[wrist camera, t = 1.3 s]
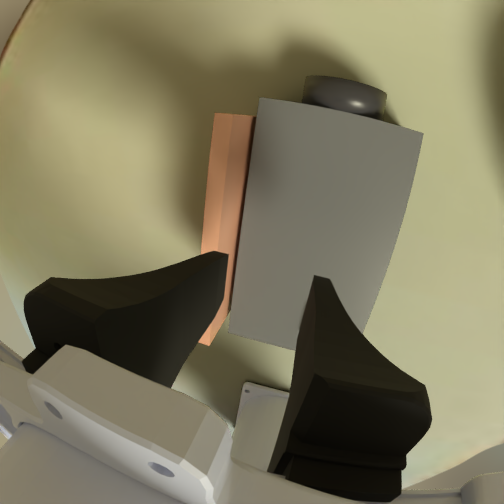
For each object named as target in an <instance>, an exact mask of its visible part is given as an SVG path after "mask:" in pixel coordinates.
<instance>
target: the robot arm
mask: <svg viewBox="0 0 504 504" xmlns="http://www.w3.org/2000/svg"><path fill="white" fill-rule="evenodd" d="M228 258H229V254H226V253H222V252H218V251H210V252H207V253H204V254H201V255H199V256H196V257H193V258H191V259H188V260H185V261H182V262H180V263H177V264H173V265H170V266H167V267H164V268H161V269H158V270H154V271H150V272H146V273H141V274H136V275H131V276H123V277H115V278H105V279H68V278H55V277H51V278H49V279H48V280H46V281H45V282H43V283H42V284H40V285H39V286H37V287H36V288H35V289H33V290H32V291H30V292H29V293H28V294H27V295H26V296H25V299H24V313H25V317H26V321H27V324H28V327H29V330H30V333H31V336H32V339H33V341H34V344H35V347H36V349H35V350H34V351H32V352H31V353H30V354H29V355H28V356H27V357H26V358H25V359H23V358H22V357H21V356H19V355H18V354H17V353H15V352H14V351H13V350H11V349H10V348H9V347H8V346H6V345H5V344H4V343H2V342H1V341H0V432H1V433H3V435H4V436H5V437H6V438H7V439H8V441H7V442H6V443H5V444H4V446H3V447H2V448H1V449H0V504H504V471H503V472H496V473H488V474H482V475H478V476H476V477H474V478H472V479H471V480H469V481H468V482H467V483H465V484H464V485H463V486H462V487H461V488H453V489H435V490H401V489H402V479H401V470H404V469H405V468H406V465H407V464H406V454H407V453H408V452H409V451H410V450H411V449H412V448H413V447H414V446H415V445H416V444H417V443H418V442H419V441H420V440H421V439H422V438H423V436H424V435H425V434H426V432H427V431H428V430H429V428H430V425H431V422H432V415H431V409H430V402H429V397H428V394H427V390H426V387H425V385H424V384H422V383H420V382H419V381H417V380H416V379H414V378H413V377H411V376H409V375H408V374H406V373H405V372H403V371H402V370H400V369H399V368H398V367H397V366H395V365H394V364H393V363H391V362H390V361H389V360H388V359H387V358H385V357H384V356H383V355H382V354H381V353H380V352H379V351H378V350H377V349H376V348H375V347H374V346H373V345H372V344H371V343H370V342H369V341H368V340H367V339H366V338H365V337H364V335H363V334H362V333H361V332H360V330H359V329H358V328H357V327H356V325H355V324H354V323H353V321H352V320H351V318H350V316H349V315H348V313H347V312H346V310H345V308H344V306H343V304H342V303H341V301H340V299H339V297H338V295H337V293H336V290H335V288H334V286H333V284H332V281H331V280H330V279H329V278H325V277H321V276H317V275H314V277H313V281H312V284H311V288H310V292H309V296H308V299H307V303H306V307H305V310H304V314H303V317H302V321H301V325H300V330H299V334H298V338H297V344H296V352H295V359H294V367H293V375H292V382H291V388H290V393H288V392H284V391H280V390H276V389H273V388H269V387H265V386H261V385H258V384H254V383H250V382H245V383H244V385H243V388H242V394H241V399H240V404H239V409H238V414H237V420H236V425H235V429H234V432H233V434H232V437H231V434H230V431H229V427H228V425H227V424H226V422H225V421H224V420H223V419H221V418H220V417H219V416H218V415H217V414H216V413H215V412H214V411H213V410H212V409H211V408H210V407H209V406H207V405H205V404H203V403H201V402H199V401H197V400H195V399H194V398H192V397H190V396H188V395H186V394H184V393H182V392H179V391H176V390H174V389H171V387H172V385H173V383H174V381H175V379H176V377H177V375H178V373H179V371H180V369H181V368H182V366H183V364H184V362H185V361H186V359H187V357H188V356H189V354H190V353H191V351H192V350H193V349H194V347H195V346H196V344H197V343H198V341H199V340H200V339H201V337H202V336H203V334H204V333H205V331H206V330H207V328H208V327H209V326H210V324H211V323H212V321H213V320H214V318H215V316H216V314H217V312H218V310H219V308H220V306H221V304H222V302H223V300H224V294H225V285H226V276H227V267H228Z"/></svg>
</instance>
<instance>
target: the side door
mask: <svg viewBox="0 0 504 504" xmlns="http://www.w3.org/2000/svg"><path fill="white" fill-rule="evenodd" d="M256 118H257V116H250V115H240V114H227V113H215V116H214V124H213V132H212V140H211V149H210V158H209V168H208V177H207V187H206V198H205V209H204V221H203V233H202V246H201V254H204V253H207V252H210V251H218V252H222V253H226V254H229V258H228V267H227V276H226V285H225V294H224V300H223V302H222V304H221V306H220V308H219V310H218V312H217V314H216V316H215V318H214V320H213V321H212V323H211V324H210V326H209V327H208V328H207V330H206V331H205V333H204V334H203V336H202V337H201V339H200V340H199V341H198V342H199V343H202V344H205V345H208V346H210V344H211V342H212V341H213V339H214V337H215V336H216V334H217V332H218V330H219V329H220V327H221V325H222V324H223V322H224V320H225V319H226V317H227V315H228V313H229V312H230V310H231V305H232V297H233V289H234V281H235V273H236V265H237V258H238V250H239V242H240V235H241V227H242V219H243V212H244V205H245V197H246V190H247V182H248V175H249V168H250V161H251V154H252V146H253V139H254V132H255V125H256Z"/></svg>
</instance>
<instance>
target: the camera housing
mask: <svg viewBox="0 0 504 504" xmlns="http://www.w3.org/2000/svg"><path fill="white" fill-rule="evenodd" d="M386 98H387V94H386V93H385V92H383V91H382V90H379V89H377V88H375V87H372V86H369V85H366V84H363V83H359V82H355V81H351V80H347V79H342V78H336V77H329V76H307V77H306V79H305V86H304V92H303V99H302V103H296V102H290V101H284V100H277V99H270V98H262V97H260V98H259V105H258V112H257V118H256V125H255V132H254V139H253V146H252V154H251V161H250V168H249V175H248V182H247V190H246V197H245V205H244V212H243V219H242V227H241V235H240V242H239V250H238V258H237V265H236V273H235V281H234V289H233V297H232V305H231V313H230V321H229V329H228V333H231V334H234V335H238V336H241V337H245V338H249V339H252V340H256V341H260V342H263V343H267V344H271V345H275V346H279V347H282V348H286V349H290V350H295V351H296V344H297V338H298V334H299V330H300V325H301V321H302V317H303V314H304V310H305V307H306V303H307V299H308V296H309V292H310V288H311V284H312V281H313V277H314V275H317V276H321V277H325V278H329V279H330V280H331V281H332V284H333V286H334V288H335V290H336V293H337V295H338V297H339V299H340V301H341V303H342V304H343V306H344V308H345V310H346V312H347V313H348V315H349V316H350V318H351V320H352V321H353V323H354V324H355V325H356V327H357V328H358V329H359V330H360V332H361V333H363V331H364V329H365V326H366V324H367V321H368V319H369V316H370V314H371V311H372V309H373V306H374V304H375V301H376V298H377V296H378V293H379V290H380V288H381V285H382V282H383V279H384V277H385V274H386V271H387V268H388V265H389V262H390V259H391V256H392V253H393V250H394V247H395V244H396V241H397V237H398V234H399V231H400V228H401V224H402V221H403V217H404V214H405V210H406V207H407V203H408V199H409V195H410V192H411V188H412V184H413V180H414V175H415V171H416V167H417V162H418V158H419V153H420V148H421V144H422V139H423V133H421V132H418V131H414V130H411V129H408V128H405V127H401V126H398V125H394V124H391V123H387V122H384V121H383V116H384V110H385V104H386Z"/></svg>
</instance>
